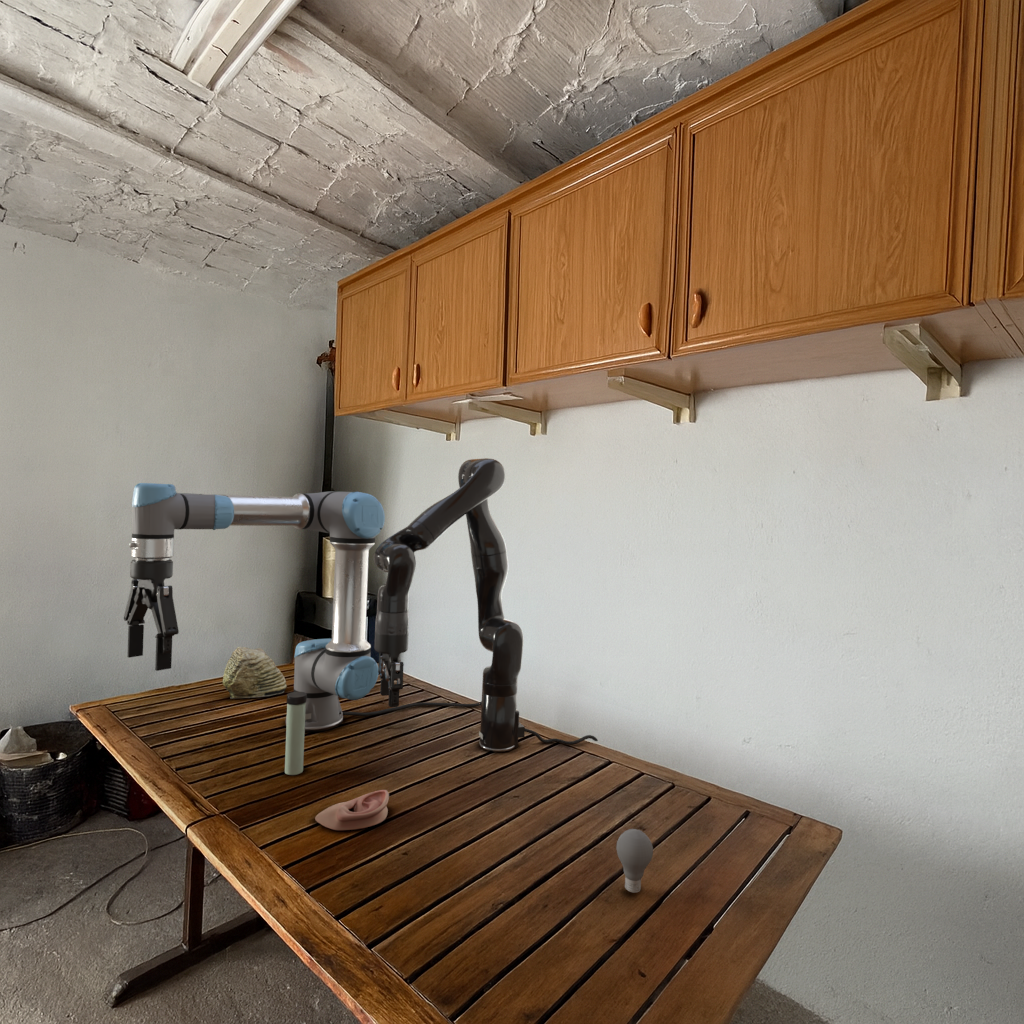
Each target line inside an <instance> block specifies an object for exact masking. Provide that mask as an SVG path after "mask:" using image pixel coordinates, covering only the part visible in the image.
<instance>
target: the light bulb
mask: <svg viewBox="0 0 1024 1024" xmlns="http://www.w3.org/2000/svg"><path fill="white" fill-rule="evenodd" d="M615 849H616V854H617V857H618V859H619V861H620V863H621V865H622V867H623V873H624V874H623V875H624V876H625V878H624V888H625V890H627V891H628V892H630V893H634V894H635V893H639V892H640V891H641V889H642V887H641V886H642V879H643V877H644V875H645V871H646V868H647V867H648V866H649V864H650V863H651V861H652V859H653V855H654V847H653V843H652V841H651V838H649V836H648V835H647V834H646V833H645V832H643V831H642V830H641V829H636V828H629V829H627V830H625V831H623V832H622V833H621V834H620V835H619V837H618V839H617V841H616V847H615Z"/></svg>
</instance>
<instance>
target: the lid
mask: <svg viewBox="0 0 1024 1024" xmlns="http://www.w3.org/2000/svg"><path fill="white" fill-rule="evenodd" d="M306 700H307V694H306V693H305V692H294V691H292V692H291V691H290V692H288V693H287V694H286V704H287V703H288V704H291V705H299V704H303V703H305V702H306Z"/></svg>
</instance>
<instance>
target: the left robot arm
mask: <svg viewBox="0 0 1024 1024" xmlns="http://www.w3.org/2000/svg"><path fill="white" fill-rule="evenodd" d="M385 515H386V513H385V511H384V508H383V505H382V503H381V502H380V501H379V500H378V498H377V497H375V495H373V494H370V493H367V492H363V491H362V492H361V491H337V490H336V491H335V490H333V491H332V490H330V491H321V492H311V493H295V494H294V495H293V496H276V495H275V496H274V495H273V496H272V495H248V494H247V495H246V494H244V495H243V494H220V493H219V494H218V493H217V494H216V493H215V494H214V493H189V492H187V493H186V492H177V491H176V486H175V485H174V484H173V483H152V482H139V483H137V484H136V485H135V486H134V488H133V492H132V501H131V520H132V521H131V542H130V543H128V547H129V548H130V549H131V550H130V556H131V558H133V559H132V560H131V561H130V567H129V568H130V571H129V574H130V575H129V576H130V578H131V581H130V590H129V594H128V598H127V603H126V607H125V610H124V615H123V621H124V622H126V624H127V626H128V629H127V630H128V631H127V658H135V657H142V656H144V635H145V634H144V630H145V625H144V624H145V623H146V621H145V619H144V618H145V616H146V615H147V612H148V609H149V610H151V613H152V618H153V620H154V624H155V627H156V631H157V633H156V635H155V636H154V638H155V661H154V663H155V665H154V668H155V669H154V670H155V671H157V672H159V671H164V670H169V669H172V659H173V657H172V655H173V637H175V636H176V635H179V632H180V631H179V625H178V619H177V615H176V614H177V613H176V609H175V603H174V597H173V595H174V593H173V585H165V580H167V579H171V578H172V577H173V575H174V573H173V572H174V561H173V560H172V559H171V558H173V557H174V554H175V553H174V552H175V530H213V531H215V530H224V529H228V528H230V526H233V527H234V526H237V527H238V526H240V527H243V526H246V527H247V526H249V527H250V526H258V527H259V526H268V527H269V526H276V527H277V526H282V527H284V526H285V527H286V526H287V527H288V526H289V527H290V526H291V527H293V528H294V529H296V530H308V531H309V530H310V531H316V532H319V533H325V534H329V544H330V545H331V546H332V547H333V548H334V550H335V551H334V572H333V573H334V577H333V599H332V625H331V626H332V627H331V638H317V639H308V640H304V641H300V642H299V643H297V645H296V646H295V650H294V655H293V657H294V672H293V673H294V674H293V692H305V693H306V694H307V700H306V707H305V733H316V732H325V731H329V730H332V729H335V728H337V727H339V726H340V725H342V723H343V722H344V716H355V717H356V716H357V717H370V716H377V715H381V714H382V715H383V714H387V713H390V712H394V711H400V710H403V709H408V708H414V707H425V706H427V707H457V708H475V707H477V708H478V707H479V706H481V704H482V700H480V701H479V702H476V703H456V702H431V701H430V702H429V701H428V702H414V703H413V702H412V703H407V704H403V705H399V706H397V707H389V708H385V709H381V710H376V711H369V712H368V711H367V712H360V711H343V709H342V706H341V702H340V699H339V698H341V699H342V700H343V699H344V700H348V701H349V700H350V701H357V700H360V699H362V698H364V697H365V696H367V695H368V694H370V692H371V690H372V689H374V687H375V685H376V683H377V682H378V678H379V675H380V674H379V673H378V669H379V664H378V663H377V662H376V660H375V659H374V657H371V652H372V649H371V648H372V644H371V643H370V642H368V640H367V639H366V631H367V607H368V606H367V605H368V604H367V602H368V582H369V581H368V579H369V555H370V553H369V552H370V550H371V548H372V547H374V545H375V544H376V536H378V535H379V534H380V533H381V530H383V528H384V526H385V522H386V521H385V520H386V516H385ZM479 703H480V704H479ZM286 724H287V714H286V715H285V725H286Z"/></svg>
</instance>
